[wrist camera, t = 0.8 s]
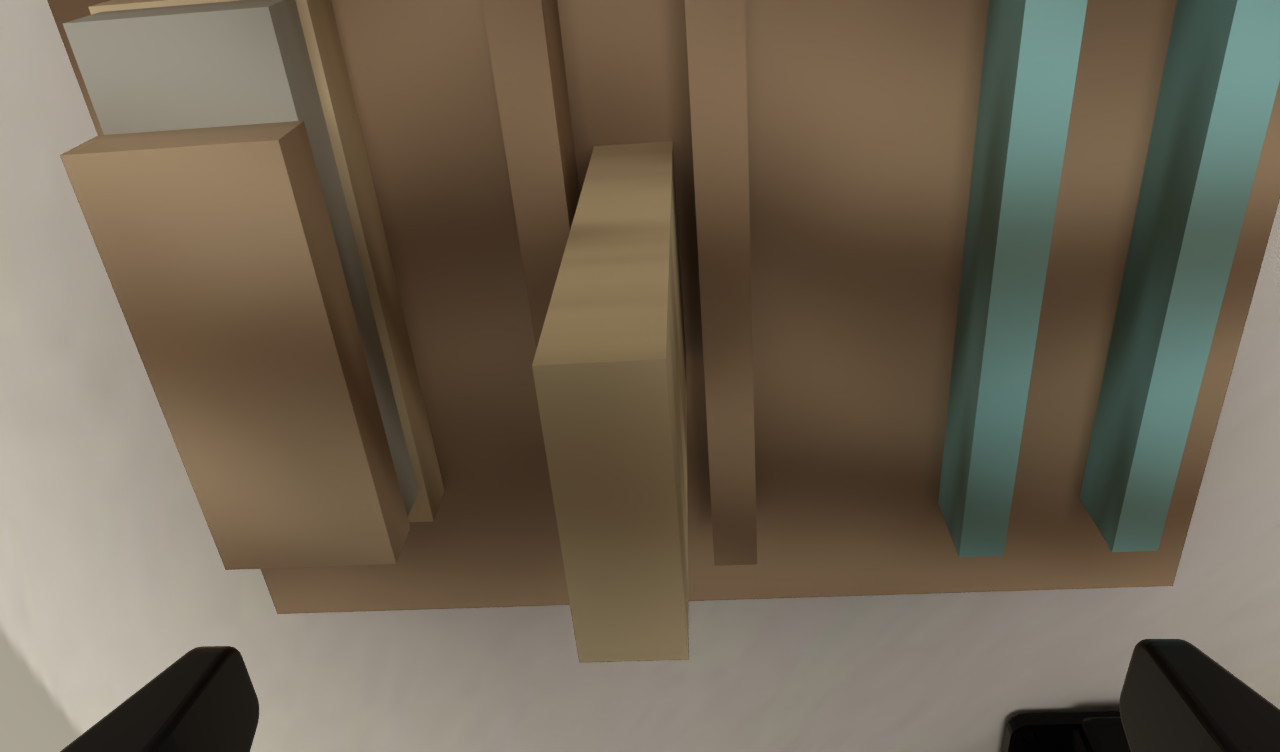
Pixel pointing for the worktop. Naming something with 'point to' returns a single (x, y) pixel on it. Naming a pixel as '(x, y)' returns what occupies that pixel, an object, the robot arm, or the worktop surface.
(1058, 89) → the rack
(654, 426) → the tan rectangular block
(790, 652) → the worktop surface
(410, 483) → the offcut stack
